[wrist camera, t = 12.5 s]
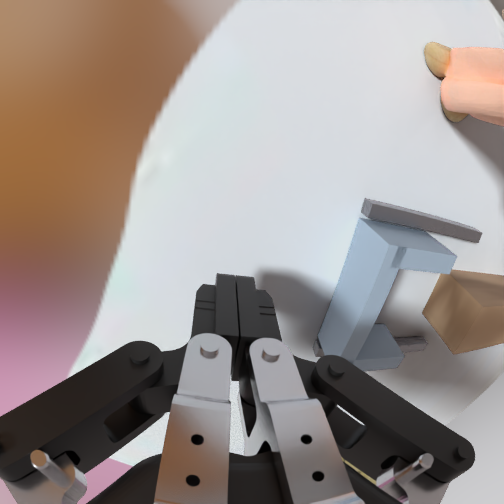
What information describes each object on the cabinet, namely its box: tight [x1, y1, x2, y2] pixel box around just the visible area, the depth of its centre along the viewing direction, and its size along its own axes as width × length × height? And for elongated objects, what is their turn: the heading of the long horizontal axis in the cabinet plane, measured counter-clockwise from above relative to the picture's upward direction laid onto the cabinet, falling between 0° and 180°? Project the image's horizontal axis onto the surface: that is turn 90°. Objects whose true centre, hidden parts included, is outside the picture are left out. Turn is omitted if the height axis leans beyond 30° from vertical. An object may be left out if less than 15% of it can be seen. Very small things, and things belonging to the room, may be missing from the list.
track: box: [313, 198, 482, 357], centre depth 15 cm, size 10×9×1 cm
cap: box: [318, 218, 457, 371], centre depth 14 cm, size 8×4×3 cm, turn 170°
